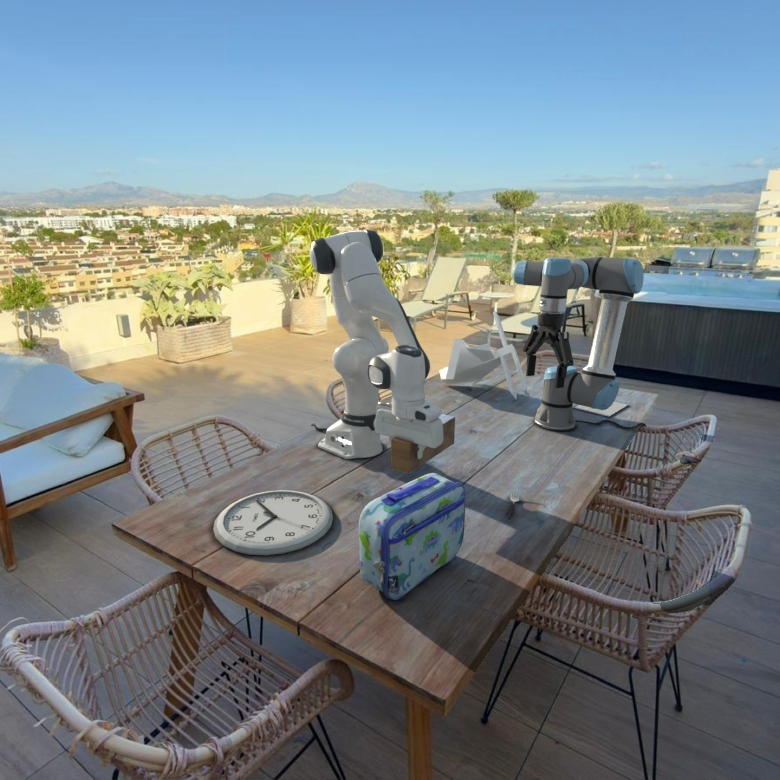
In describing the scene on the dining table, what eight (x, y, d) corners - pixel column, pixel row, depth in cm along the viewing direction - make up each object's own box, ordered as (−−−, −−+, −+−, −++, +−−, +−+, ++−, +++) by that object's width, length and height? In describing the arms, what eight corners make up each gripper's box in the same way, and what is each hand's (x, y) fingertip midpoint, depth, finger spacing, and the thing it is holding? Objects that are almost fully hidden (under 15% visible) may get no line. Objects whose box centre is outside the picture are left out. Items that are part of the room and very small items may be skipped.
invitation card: (608, 416, 214) (573, 407, 224) (608, 416, 214) (573, 408, 224) (628, 404, 229) (594, 396, 238) (628, 405, 229) (594, 397, 238)
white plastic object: (461, 429, 252) (437, 405, 227) (444, 352, 274) (420, 323, 250) (535, 404, 240) (518, 377, 215) (510, 326, 262) (492, 293, 237)
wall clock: (331, 546, 121) (198, 551, 119) (331, 552, 122) (199, 557, 119) (333, 485, 150) (227, 488, 147) (334, 490, 150) (227, 493, 148)
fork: (503, 520, 136) (504, 514, 136) (511, 493, 151) (512, 486, 150) (513, 522, 136) (514, 515, 135) (521, 494, 150) (521, 488, 149)
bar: (437, 439, 163) (438, 413, 160) (454, 443, 159) (455, 416, 157) (391, 468, 143) (391, 439, 140) (408, 473, 140) (409, 443, 137)
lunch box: (387, 613, 103) (389, 519, 97) (352, 587, 110) (351, 498, 104) (468, 558, 121) (474, 476, 114) (433, 538, 128) (436, 460, 122)
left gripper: (369, 402, 142) (370, 449, 146) (434, 417, 131) (433, 468, 135) (383, 397, 147) (383, 442, 151) (447, 410, 136) (445, 459, 140)
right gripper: (515, 306, 163) (509, 372, 169) (571, 319, 141) (562, 394, 147) (535, 305, 166) (528, 370, 172) (592, 318, 144) (583, 391, 150)
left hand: (407, 454), depth 143 cm, fingers closed on bar, 6 cm apart
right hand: (544, 381), depth 160 cm, fingers open, 13 cm apart
